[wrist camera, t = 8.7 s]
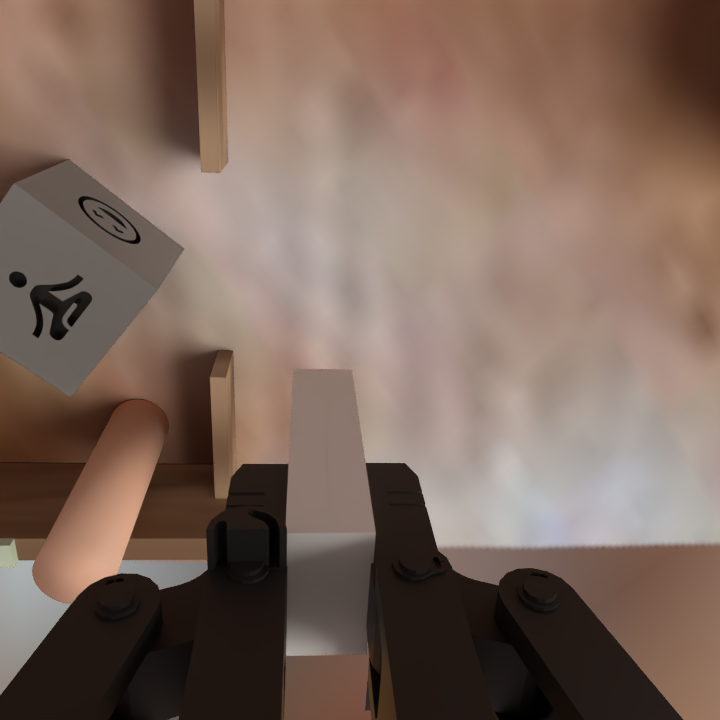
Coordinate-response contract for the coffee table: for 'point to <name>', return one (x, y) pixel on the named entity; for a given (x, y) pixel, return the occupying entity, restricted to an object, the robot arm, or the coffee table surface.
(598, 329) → the coffee table surface
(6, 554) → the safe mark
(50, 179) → the dice cube
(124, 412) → the pin
